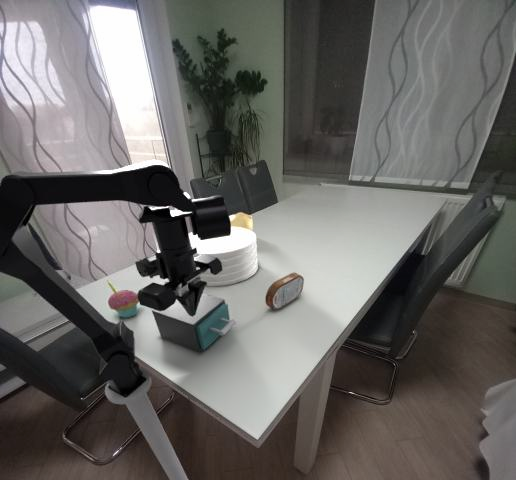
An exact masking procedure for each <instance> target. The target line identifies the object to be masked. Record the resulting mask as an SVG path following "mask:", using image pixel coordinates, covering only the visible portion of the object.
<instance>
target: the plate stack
mask: <svg viewBox="0 0 516 480" xmlns="http://www.w3.org/2000/svg"><path fill="white" fill-rule="evenodd" d="M188 233H189V238H190V242H191V246H192V247H196V248H197V253H196V254H194V255H193V257H194V258H196V257H198V256H200V255H201V254H202V255H207V256H212V257H217V258H218V259H219V260H220V261H221V263H222V271H221V272H219V273H218V274H217V275H213V274H212V273H211V272H210V269H208V270H207V271H206V272H204V273H203V274H201V275H200V278H201V281H205V282H207V285H206V286H205V287H224V286H231V285H234V284H237V283H240V282H243V281H246V280H248V279H249V278H251V277H252V276H253V275H254V274H256V273H257V271H258V268H259V267H258V266H259V263H258V249H257V248H258V247H257V245H258V244H257V234H256V233H255V232H254V231H253V230H252V231H251V230H249V229H245V228H241V227H231V234H230V236H225V237H219V238H213V239H207V240H200V239H199V238H198V236H197V235H194V236H193V234H192V231H191V232H188Z"/></svg>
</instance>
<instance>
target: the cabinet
mask: <svg viewBox="0 0 516 480" xmlns="http://www.w3.org/2000/svg"><path fill="white" fill-rule="evenodd" d="M224 303H225V304H226V299H225V298H222V297H217V296H214V295H211V294H207V293H204V292H203V293H202V295H201V298H200V301H199V304H198V308H197V311H196V314H195V315H194V316H193V317H192V316H190V315H189V314H188V313H187V312H186V310H185V309H184V308H183V306H182V305H181V304H180V303H179V301H178V300H177V299H176V301H175V304H173V305H172V306H170V307H169V308H167V309H166V310H164V311H158V310H155V309H152V310H151V312H152V315H153V318H154V321H155V323H156V326H157V329H158V332H159V335H160V337H161V338H162V339H165V340H167V341H169V342H172V343H174V344H177V345H180V346H183V347H185V348H187V349H190V350H193V351H196V352H199V353H202V351H204V349H202V348H201V346H200V342H199V338H198V333H197V329H196V325H197V324H199V323H200V322H201V321H202V320H203V319H205V318H206V317H207V316H208V315H210V314H211V313H212V312H213V311H214V310H216V309H217V308H218V307H220V306H221V305H222V304H224Z"/></svg>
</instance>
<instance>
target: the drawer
mask: <svg viewBox="0 0 516 480" xmlns="http://www.w3.org/2000/svg"><path fill="white" fill-rule="evenodd" d="M236 324H237V322H236V320H235V319H231V318H230V313H229V304H227V303H226V302H225V303H224V304H222V305H221V306H220V307H218V308H217V309H216V310H214V311H213V312H212V314H210V315H209V316H208V317H207V318H206V319H204V320H203V321H202V322H201V323H200V324H198V325H197V326H196V329H197V333H198V338H199V342H200V346H201V348H202V349H203V351H205V350H207V348H209V346H210V345H212V344H213V342H215V341H216V340H217V339H218V338H219V337H220V336H221V337H224V336H225V335H226V334H227V333H228V332H229V331H230V330H231V329H232V328H233V327H234V326H235V325H236Z"/></svg>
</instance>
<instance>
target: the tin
mask: <svg viewBox="0 0 516 480" xmlns="http://www.w3.org/2000/svg"><path fill="white" fill-rule="evenodd" d="M304 283H305V278H304V277H303V276H302V275H301V274H299V273H297V272H291V273H289V274H287V275H285V276H284V277H281V278H279V279H277V280H276V281H274V282H272V283H271V285H270V286H269V287H268V288H267V291H266V294H265V300H264V302H265V305H266V306H267V307H269V308H271V309H273V310H279V309H282V308H283V307H285V306H286V305H288V304H290V303H291V302H293V301H295V300H296V299H298V297H299V296H300V295H301V294H302V291H303V289H304Z"/></svg>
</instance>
